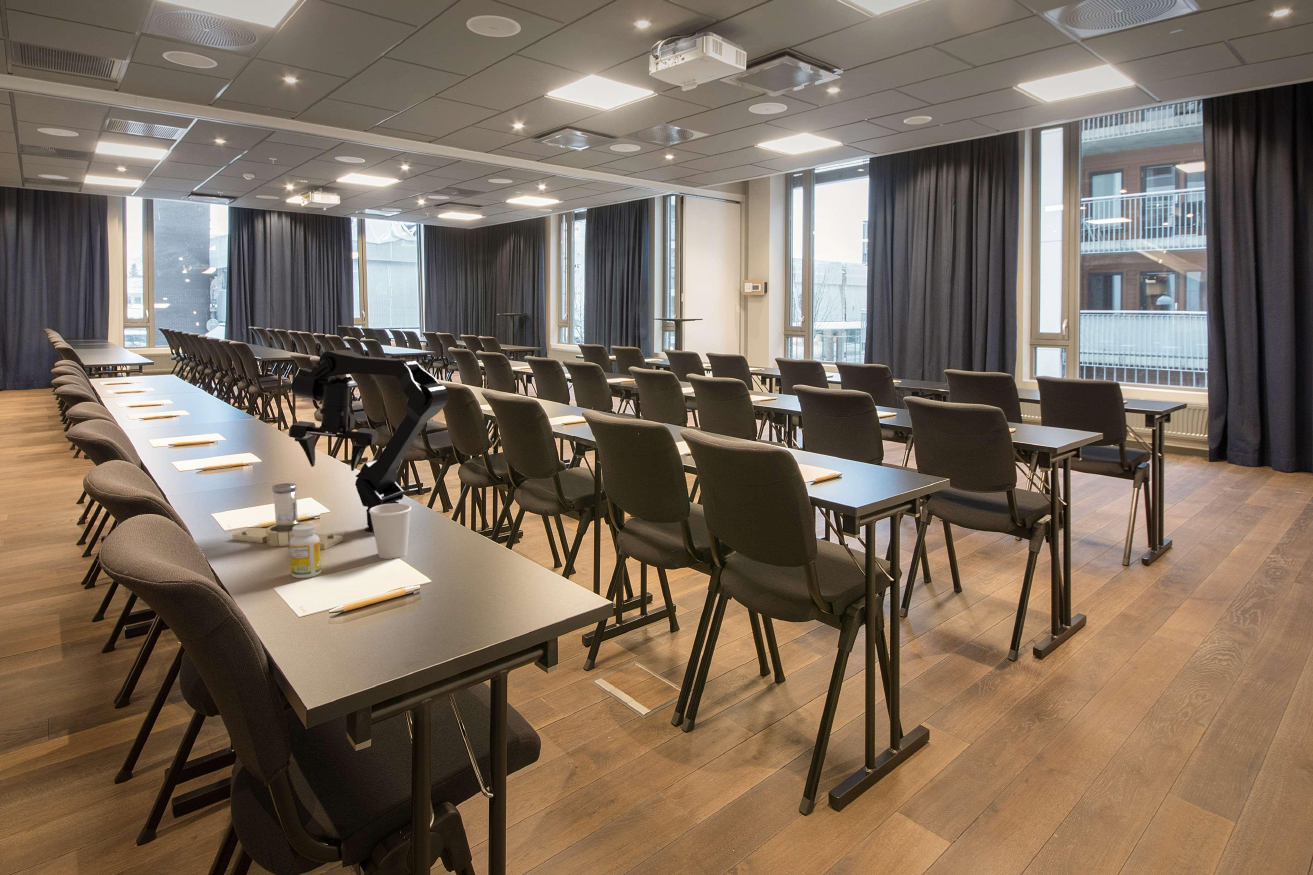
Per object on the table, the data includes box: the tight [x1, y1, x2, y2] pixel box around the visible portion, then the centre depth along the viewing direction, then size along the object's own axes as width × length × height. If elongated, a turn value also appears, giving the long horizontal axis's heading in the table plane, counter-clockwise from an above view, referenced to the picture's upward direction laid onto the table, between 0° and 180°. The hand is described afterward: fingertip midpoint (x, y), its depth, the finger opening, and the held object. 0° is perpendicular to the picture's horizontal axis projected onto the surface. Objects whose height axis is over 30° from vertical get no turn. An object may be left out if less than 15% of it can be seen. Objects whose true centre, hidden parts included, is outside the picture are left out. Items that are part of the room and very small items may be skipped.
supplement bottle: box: [289, 523, 322, 579], centre depth 149 cm, size 5×5×10 cm
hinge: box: [232, 521, 344, 550], centre depth 171 cm, size 24×8×3 cm, turn 75°
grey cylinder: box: [271, 482, 299, 532], centre depth 170 cm, size 5×5×12 cm
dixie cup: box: [369, 503, 412, 560], centre depth 161 cm, size 8×8×10 cm
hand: (332, 468), depth 182 cm, fingers open, 9 cm apart
